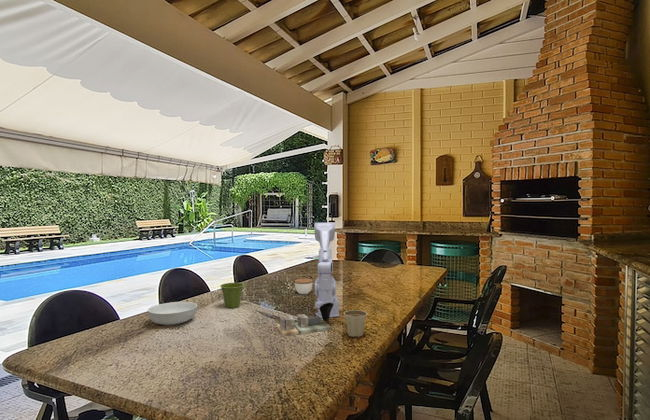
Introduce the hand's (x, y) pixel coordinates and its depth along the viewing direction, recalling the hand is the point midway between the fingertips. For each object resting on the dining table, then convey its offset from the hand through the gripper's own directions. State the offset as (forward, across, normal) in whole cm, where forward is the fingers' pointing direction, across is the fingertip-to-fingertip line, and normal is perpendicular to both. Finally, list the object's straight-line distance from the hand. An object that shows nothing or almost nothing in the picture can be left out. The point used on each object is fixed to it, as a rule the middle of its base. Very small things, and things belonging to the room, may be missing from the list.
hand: (325, 320), depth 163 cm
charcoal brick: (+1, +6, -5) cm, 7 cm away
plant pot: (+2, -4, -58) cm, 58 cm away
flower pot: (+2, +4, +16) cm, 17 cm away
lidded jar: (+2, -46, -41) cm, 62 cm away
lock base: (+2, +8, -7) cm, 10 cm away
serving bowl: (+2, +28, -64) cm, 69 cm away
